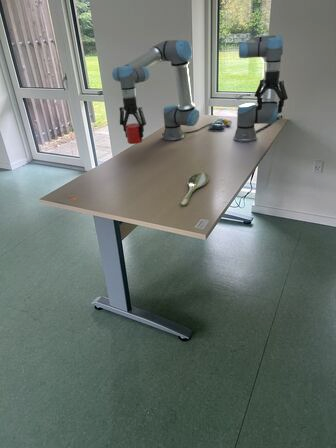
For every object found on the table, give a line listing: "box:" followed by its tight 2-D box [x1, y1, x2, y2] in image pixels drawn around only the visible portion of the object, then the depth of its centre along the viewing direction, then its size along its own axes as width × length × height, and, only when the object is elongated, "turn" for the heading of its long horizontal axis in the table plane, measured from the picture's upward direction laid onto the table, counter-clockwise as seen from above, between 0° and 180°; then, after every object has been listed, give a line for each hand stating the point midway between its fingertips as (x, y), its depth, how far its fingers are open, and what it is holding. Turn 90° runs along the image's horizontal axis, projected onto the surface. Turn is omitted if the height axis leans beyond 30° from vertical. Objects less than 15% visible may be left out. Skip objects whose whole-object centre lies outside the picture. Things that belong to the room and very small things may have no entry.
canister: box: [125, 122, 143, 145], centre depth 195 cm, size 9×9×10 cm
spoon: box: [180, 171, 210, 207], centre depth 170 cm, size 35×11×2 cm, turn 159°
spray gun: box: [209, 118, 233, 130], centre depth 263 cm, size 21×4×15 cm
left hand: (134, 137), depth 196 cm, fingers closed on canister, 9 cm apart
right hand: (269, 111), depth 190 cm, fingers open, 13 cm apart
